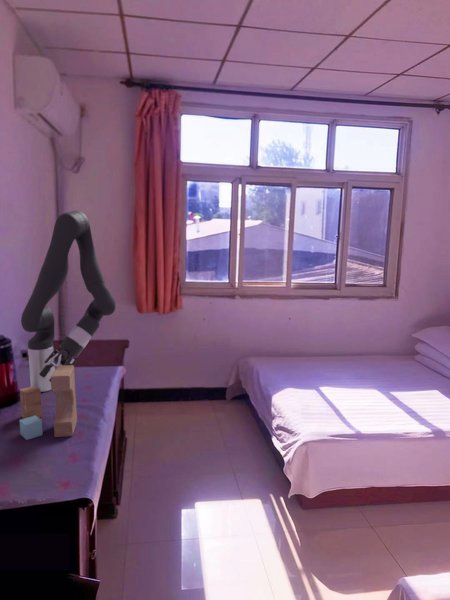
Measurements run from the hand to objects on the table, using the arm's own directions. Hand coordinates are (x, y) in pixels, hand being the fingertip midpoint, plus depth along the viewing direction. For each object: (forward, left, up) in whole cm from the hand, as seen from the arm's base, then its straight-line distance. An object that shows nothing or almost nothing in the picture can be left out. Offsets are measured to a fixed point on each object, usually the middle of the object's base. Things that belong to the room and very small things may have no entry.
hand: (46, 379), depth 154 cm
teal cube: (+13, -11, -12) cm, 21 cm away
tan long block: (0, -6, -12) cm, 13 cm away
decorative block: (+17, -1, -12) cm, 21 cm away
